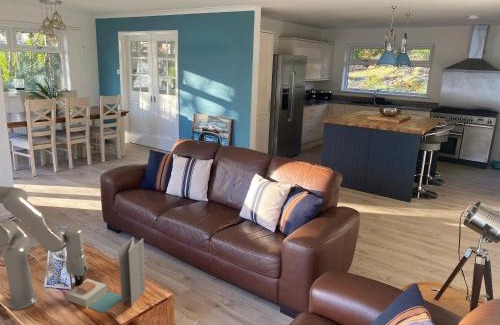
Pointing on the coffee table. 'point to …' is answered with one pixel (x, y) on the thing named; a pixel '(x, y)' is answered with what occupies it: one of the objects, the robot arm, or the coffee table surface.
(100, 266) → the coffee table surface
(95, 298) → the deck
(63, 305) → the coffee table surface
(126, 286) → the brochure
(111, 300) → the mat
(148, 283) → the coffee table surface
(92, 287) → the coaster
